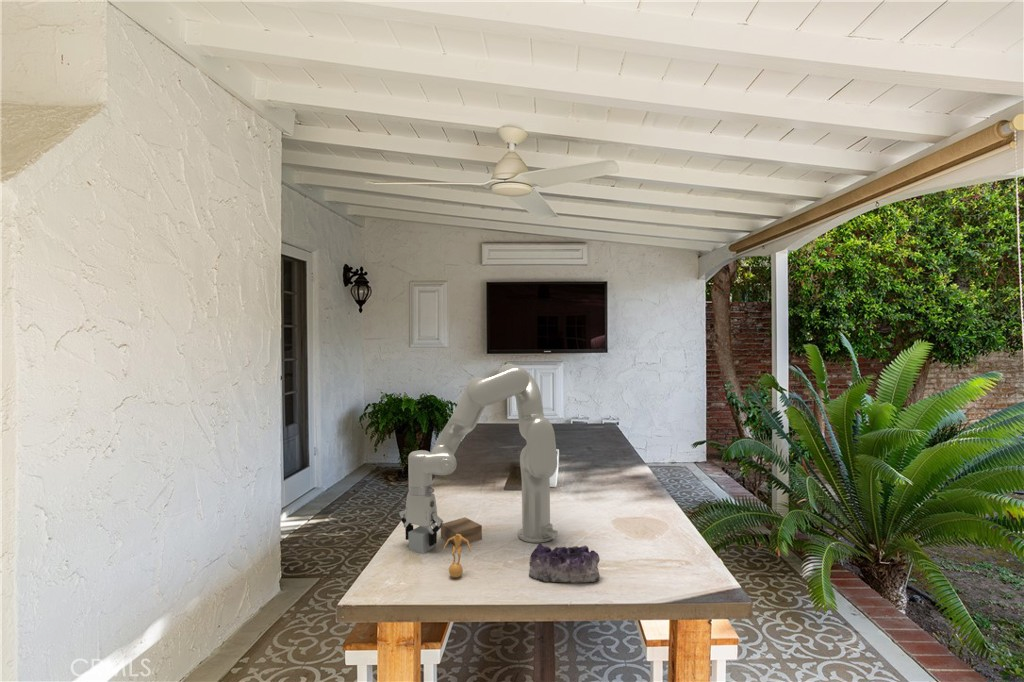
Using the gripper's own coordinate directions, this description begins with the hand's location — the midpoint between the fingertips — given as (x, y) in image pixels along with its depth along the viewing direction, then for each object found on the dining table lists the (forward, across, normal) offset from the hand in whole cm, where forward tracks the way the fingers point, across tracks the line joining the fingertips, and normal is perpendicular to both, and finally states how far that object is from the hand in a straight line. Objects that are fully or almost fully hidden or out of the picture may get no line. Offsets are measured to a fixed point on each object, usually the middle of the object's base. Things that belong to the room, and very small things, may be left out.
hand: (421, 541), depth 183 cm
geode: (+2, -49, -5) cm, 49 cm away
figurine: (+2, -21, +10) cm, 24 cm away
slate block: (+2, 0, 0) cm, 2 cm away
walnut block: (+2, -7, -13) cm, 15 cm away
